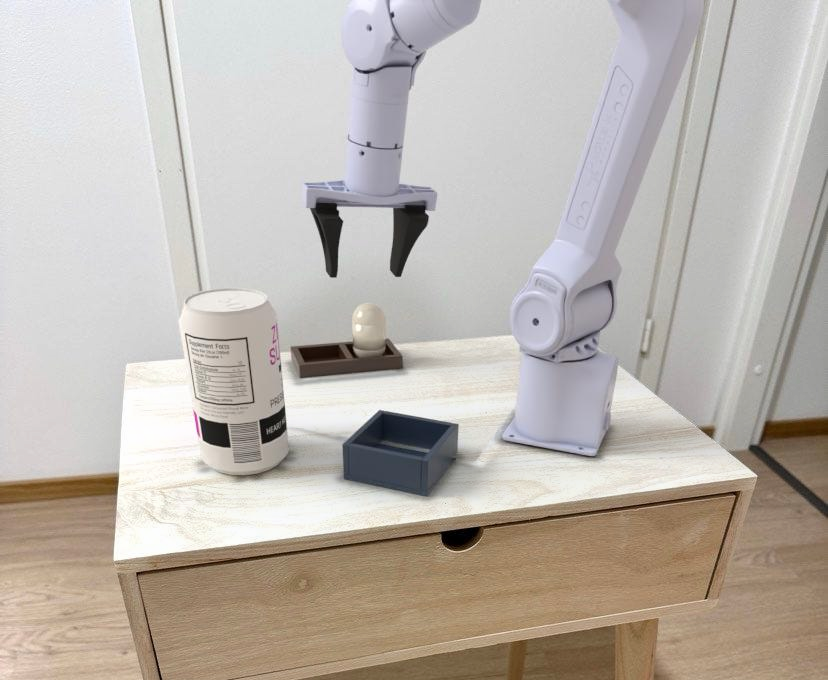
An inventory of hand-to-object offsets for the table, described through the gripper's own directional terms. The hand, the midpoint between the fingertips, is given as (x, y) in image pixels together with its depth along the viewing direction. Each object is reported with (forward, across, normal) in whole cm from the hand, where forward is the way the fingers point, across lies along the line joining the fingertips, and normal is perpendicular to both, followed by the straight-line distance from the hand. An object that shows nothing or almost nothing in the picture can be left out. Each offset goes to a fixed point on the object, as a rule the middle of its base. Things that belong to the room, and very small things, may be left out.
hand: (363, 274), depth 86 cm
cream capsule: (+10, -2, +1) cm, 11 cm away
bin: (+8, +4, +27) cm, 28 cm away
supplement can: (+10, +17, +20) cm, 28 cm away
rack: (+11, +1, +1) cm, 11 cm away
